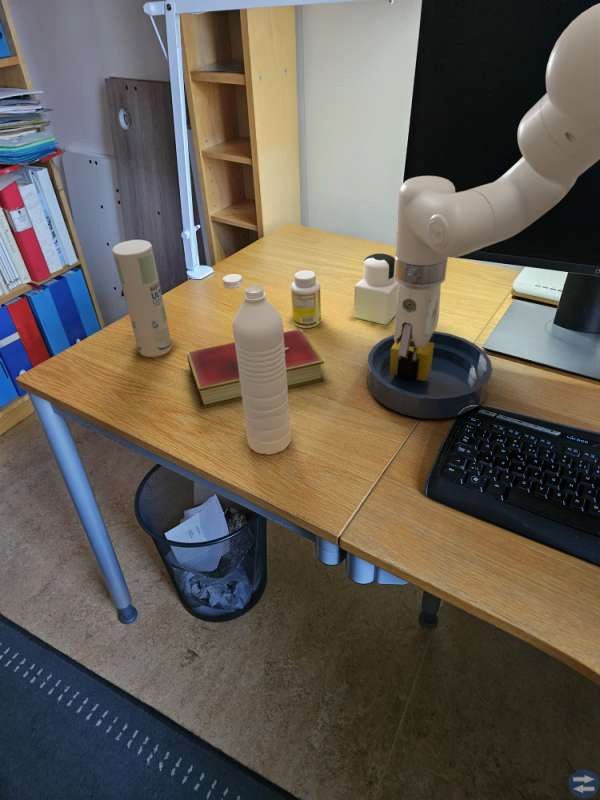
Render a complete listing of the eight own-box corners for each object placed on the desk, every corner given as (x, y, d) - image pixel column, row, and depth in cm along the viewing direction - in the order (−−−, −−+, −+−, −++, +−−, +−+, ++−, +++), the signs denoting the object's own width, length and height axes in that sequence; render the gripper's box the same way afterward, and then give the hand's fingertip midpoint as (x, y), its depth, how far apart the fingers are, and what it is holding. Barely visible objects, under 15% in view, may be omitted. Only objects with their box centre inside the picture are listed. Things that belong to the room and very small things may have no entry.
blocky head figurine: (368, 302, 116) (371, 247, 109) (400, 310, 113) (405, 253, 106) (353, 317, 112) (354, 261, 104) (386, 325, 109) (390, 268, 101)
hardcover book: (189, 369, 99) (186, 349, 97) (301, 345, 104) (300, 326, 101) (202, 408, 90) (198, 387, 88) (324, 380, 95) (323, 359, 92)
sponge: (431, 368, 93) (434, 342, 90) (425, 381, 90) (428, 355, 87) (396, 361, 95) (398, 336, 92) (389, 373, 92) (390, 348, 89)
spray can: (167, 357, 103) (145, 254, 91) (133, 357, 103) (106, 255, 91) (176, 339, 108) (156, 239, 96) (143, 339, 108) (119, 239, 96)
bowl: (496, 364, 97) (500, 342, 94) (474, 434, 83) (479, 410, 80) (387, 343, 103) (388, 322, 101) (350, 404, 89) (350, 381, 87)
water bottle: (300, 440, 83) (291, 286, 68) (267, 462, 80) (250, 305, 64) (261, 414, 88) (245, 266, 73) (229, 434, 85) (205, 283, 70)
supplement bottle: (307, 312, 114) (305, 265, 108) (326, 321, 111) (326, 273, 105) (287, 322, 111) (284, 274, 105) (306, 332, 108) (304, 283, 102)
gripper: (431, 296, 74) (420, 404, 85) (458, 249, 86) (445, 349, 97) (377, 287, 77) (373, 394, 88) (410, 243, 89) (403, 342, 100)
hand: (411, 369), depth 93 cm, fingers closed on sponge, 4 cm apart
